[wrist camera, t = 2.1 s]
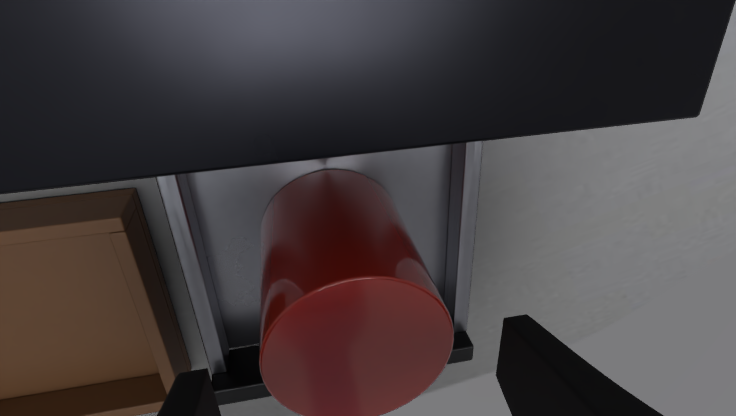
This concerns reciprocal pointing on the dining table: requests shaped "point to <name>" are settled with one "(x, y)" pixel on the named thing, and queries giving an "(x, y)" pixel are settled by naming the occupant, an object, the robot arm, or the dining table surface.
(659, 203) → the dining table surface
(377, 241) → the glossy red cylinder
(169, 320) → the tray
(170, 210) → the tray
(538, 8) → the oven
